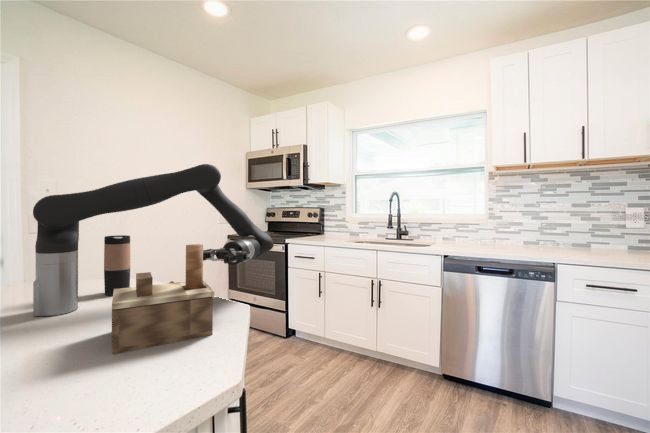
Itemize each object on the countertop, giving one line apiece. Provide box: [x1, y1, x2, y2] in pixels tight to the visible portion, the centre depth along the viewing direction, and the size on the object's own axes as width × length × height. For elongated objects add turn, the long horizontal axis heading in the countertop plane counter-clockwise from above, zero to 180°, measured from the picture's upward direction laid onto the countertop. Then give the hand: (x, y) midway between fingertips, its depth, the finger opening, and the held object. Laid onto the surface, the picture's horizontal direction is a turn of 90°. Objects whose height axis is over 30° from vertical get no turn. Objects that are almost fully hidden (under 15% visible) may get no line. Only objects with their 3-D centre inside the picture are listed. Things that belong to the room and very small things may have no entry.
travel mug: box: [103, 234, 131, 297], centre depth 108 cm, size 8×8×20 cm
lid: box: [111, 271, 215, 311], centre depth 74 cm, size 20×14×5 cm, turn 123°
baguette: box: [185, 243, 204, 290], centre depth 78 cm, size 4×4×12 cm
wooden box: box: [111, 296, 214, 355], centre depth 75 cm, size 20×14×9 cm
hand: (211, 258), depth 85 cm, fingers open, 8 cm apart
